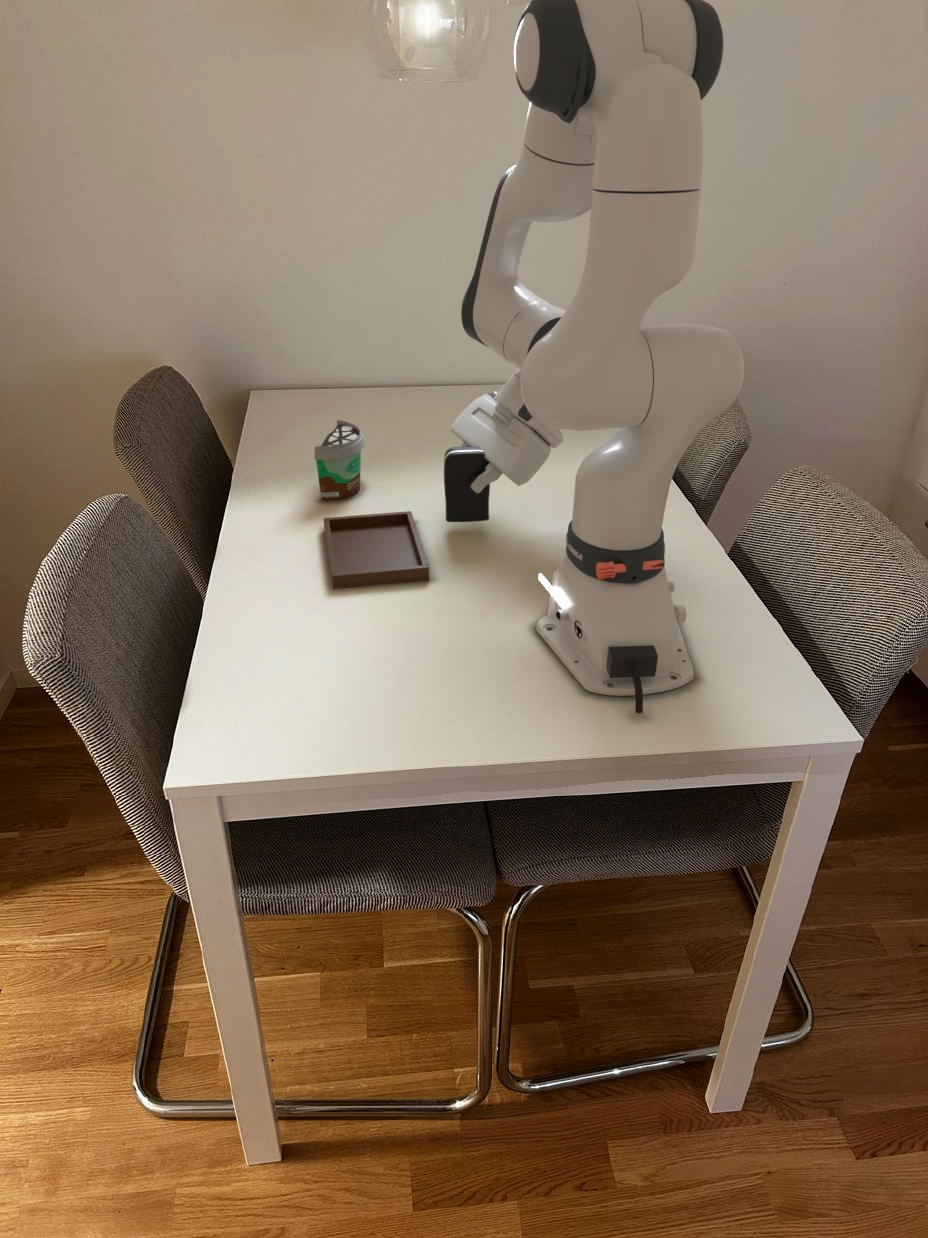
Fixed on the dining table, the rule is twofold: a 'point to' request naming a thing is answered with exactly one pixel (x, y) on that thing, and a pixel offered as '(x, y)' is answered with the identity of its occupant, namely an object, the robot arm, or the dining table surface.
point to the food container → (340, 462)
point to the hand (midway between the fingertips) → (463, 481)
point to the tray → (374, 550)
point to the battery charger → (465, 485)
